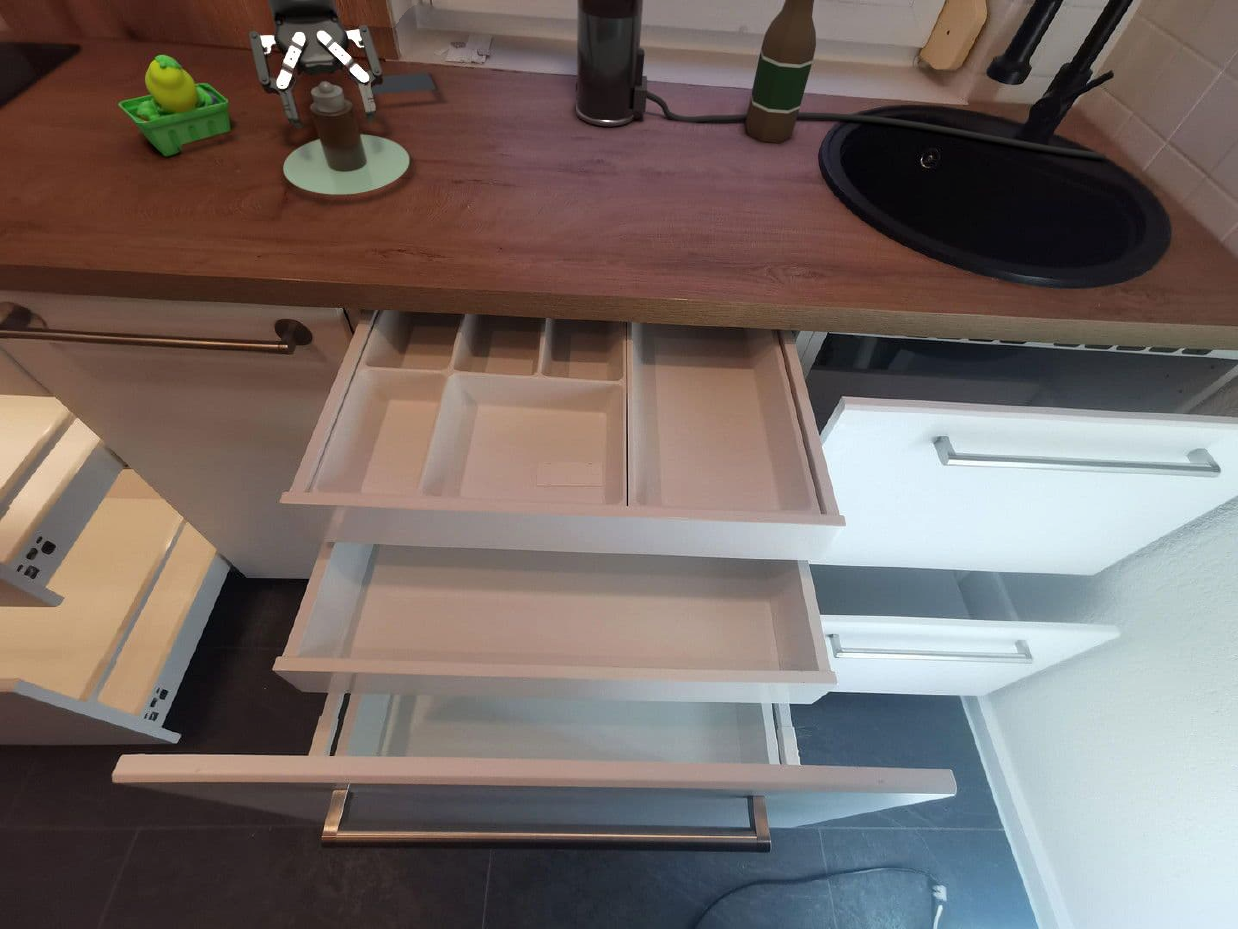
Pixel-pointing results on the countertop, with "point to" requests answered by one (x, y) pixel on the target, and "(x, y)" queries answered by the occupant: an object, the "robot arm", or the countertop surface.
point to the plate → (380, 170)
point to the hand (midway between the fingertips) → (335, 122)
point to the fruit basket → (176, 108)
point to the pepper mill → (337, 128)
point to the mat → (404, 83)
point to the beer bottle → (782, 73)
